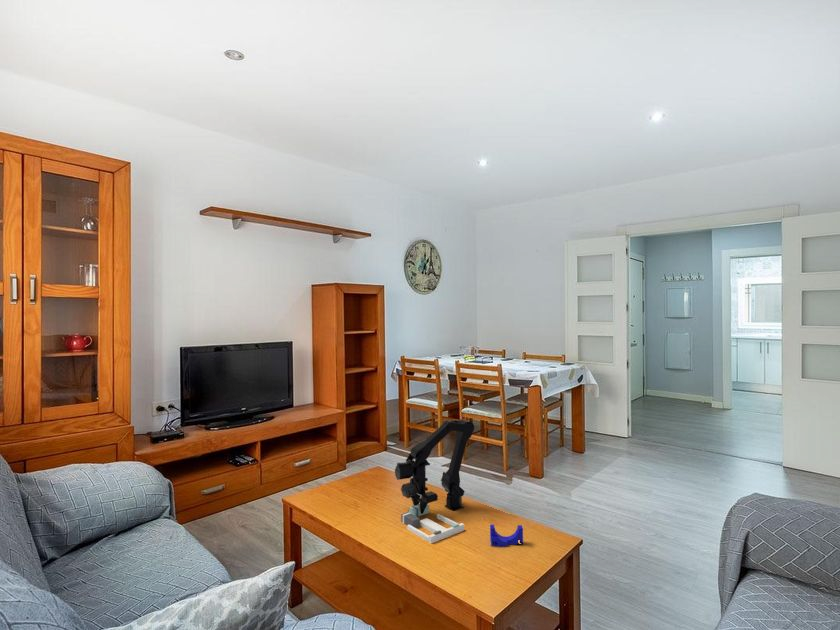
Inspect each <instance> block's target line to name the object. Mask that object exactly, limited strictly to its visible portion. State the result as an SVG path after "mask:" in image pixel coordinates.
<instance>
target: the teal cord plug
mask: <svg viewBox="0 0 840 630" xmlns="http://www.w3.org/2000/svg"><path fill="white" fill-rule="evenodd" d="M408 512H410V513H411V514H413V515H415V516H416V517H418V518H419V517H421V516H423V515H427V514H429V513H430V505H429V504H427V506H426V508H425V510H424V513H422V514H421V511H420V503H419V504H418V505H415V506H414V505H412V506H410V507H409V511H408Z"/></svg>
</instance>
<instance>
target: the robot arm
mask: <svg viewBox="0 0 840 630" xmlns="http://www.w3.org/2000/svg"><path fill="white" fill-rule="evenodd" d="M452 431H455V434H456V440H455V444H454V448H453V451H452V455H451V460H450V462H449V463H450V464H449V468H448V469H447V470H446V472H445V471H443V473H442V475H441V479H440V481H441V482H440V483H441V486H442V488H444V491H445V492H447V493H446V499H445V500H446V502H445V504H444V508H447V509H449V510H451V511H453V512H455V511H457V510H460V509H463V508H465V506H464V505H463V501H462V500H463V496H464V495H465V490H464V489H463V488H462V487H461V486H460V485H461V478H460V477H461V475H460V471H461V466H462V462H463V459H464V455H465V451H466V447H467V443H468V441H469V440H470V438H471V437H472V436H473V433H474V431H475V425H474V423H473V422H472V421H469V420H467V419H465V418H461V419H459V420H455V419H453V420H449V419H447V420H445V421H444V422H443V423H442V424H441V425H440V426H439V427H438V428H437V429H436V430H435V431H434V432H432V434H430V435H429V436H428V437H427V438H426V439H425V440H424V441H421V442H418V443H417V444H415V445H414V446H412V447H411V449H410V453H409V454H408V456H407V457H406V459H405V462H397V463H396V466H395V468H394V475H395V479H396V480H398V481H399V480H404V479H405V480H406V479H409V482H407V483H403V484H402V485H401V488H400V491H401V495H402V496H403V497H406V499H411V501H412V506H415V505H418V504H420V511H421V514H422V513H424V510H425V508H426V506H427V505H429V504H431V503H433V502H436V501H438V500H439V497H438V494H437V493H435V492H433V491H432V490H430V491H429V487H427V486H426V485H427V483H426V482H428V480H429V479H428V477H426V476H427V475H426V470H427V469H426V467H427V466H430V465H431V463H430V462H429V461H428V460H427V459H428V457H430V456H431V453H432V451H433V449H434V448H435V447H436V446H437V445H438V444H440V442H441V441H442V440H443V439H444V438H445V437H446V436H447V435H449V433H451V432H452ZM427 491H428V492H427Z"/></svg>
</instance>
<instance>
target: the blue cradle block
mask: <svg viewBox="0 0 840 630" xmlns="http://www.w3.org/2000/svg"><path fill="white" fill-rule="evenodd" d="M515 530H516V531H515V532H514V533H513V534H511V535H508V536H505V535H504V536H503V535H501V534H499V533H498V532H497V530H496V527H495V524H489V531H490V532H489V535H490V536H489V539H490V541H489V542H490V546H491V547H508V545H517V544H519V543H518V540H520V543H521V544H523V545H524V528H523V525H522V524H517V527H516V529H515Z"/></svg>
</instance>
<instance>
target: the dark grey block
mask: <svg viewBox="0 0 840 630" xmlns="http://www.w3.org/2000/svg"><path fill="white" fill-rule="evenodd" d="M400 515H401V516H400V521H401V523H402V524H404V525H405V526H407V525H411V526H413V527H415V528H416V529H418V528H419V527H421V526H420V520H421V519H420V518H421V517H419V516H418V517H416V516H415V515H413V514H411V513H410V512H409V511H407V512H403V513H401V514H400Z"/></svg>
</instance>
